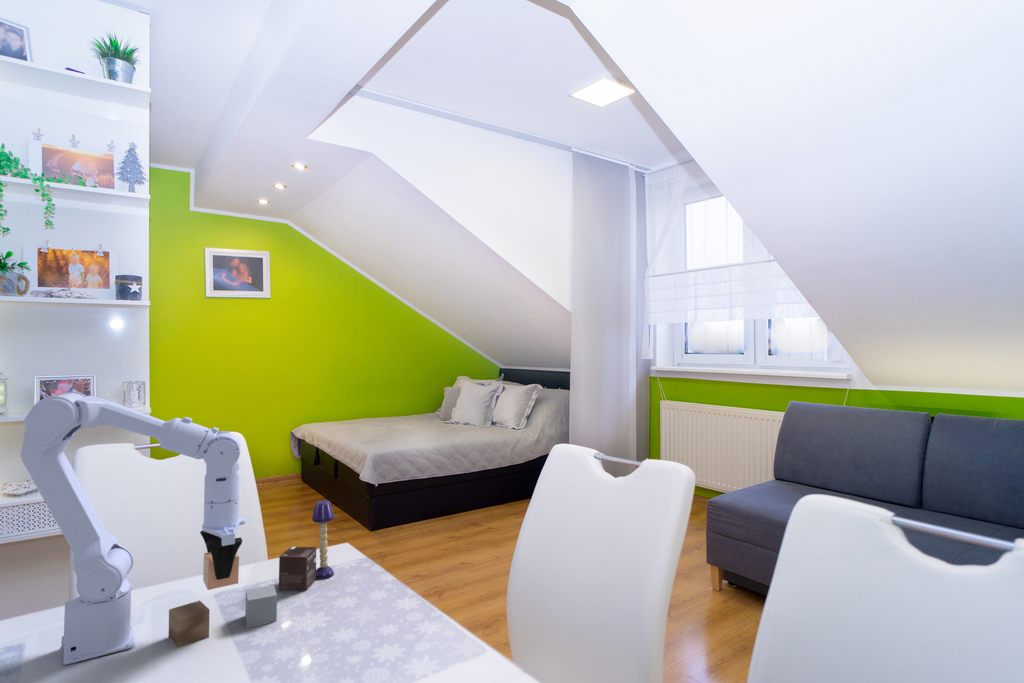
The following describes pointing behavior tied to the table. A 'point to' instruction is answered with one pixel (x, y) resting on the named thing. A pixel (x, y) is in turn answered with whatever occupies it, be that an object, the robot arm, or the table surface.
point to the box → (297, 568)
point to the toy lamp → (323, 536)
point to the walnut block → (188, 623)
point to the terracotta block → (209, 573)
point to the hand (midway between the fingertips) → (220, 572)
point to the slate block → (261, 605)
